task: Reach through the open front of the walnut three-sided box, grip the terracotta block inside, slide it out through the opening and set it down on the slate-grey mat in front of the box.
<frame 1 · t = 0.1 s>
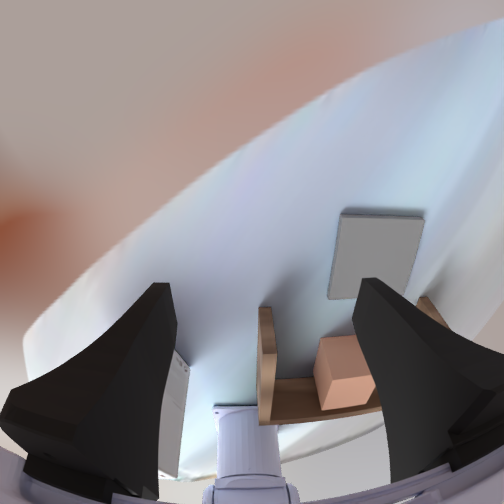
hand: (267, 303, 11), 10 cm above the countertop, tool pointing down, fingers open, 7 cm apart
skincare box: (155, 359, 27), on the countertop
open box: (340, 347, 27), on the countertop
block: (338, 352, 27), on the countertop
mat: (375, 257, 22), on the countertop
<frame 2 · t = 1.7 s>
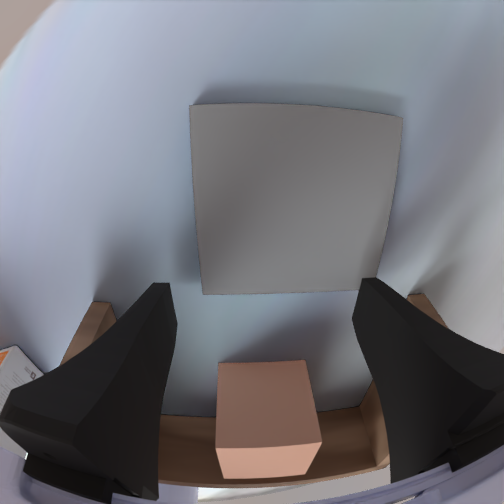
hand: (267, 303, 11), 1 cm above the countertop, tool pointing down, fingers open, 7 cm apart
skincare box: (17, 365, 16), on the countertop
open box: (261, 379, 15), on the countertop
block: (260, 387, 16), on the countertop
mat: (296, 203, 11), on the countertop
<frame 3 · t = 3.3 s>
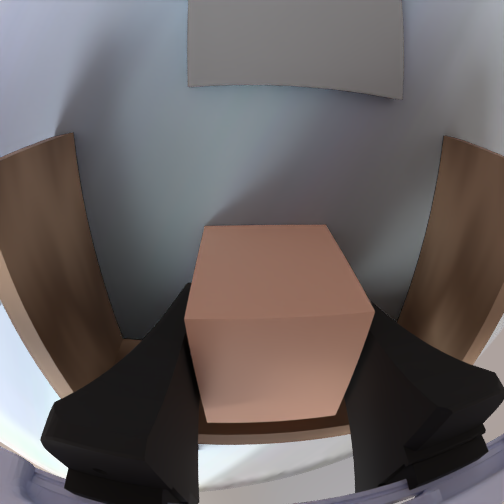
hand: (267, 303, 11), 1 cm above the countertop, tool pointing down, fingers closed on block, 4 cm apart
open box: (265, 260, 12), on the countertop
block: (264, 281, 12), on the countertop, touching gripper
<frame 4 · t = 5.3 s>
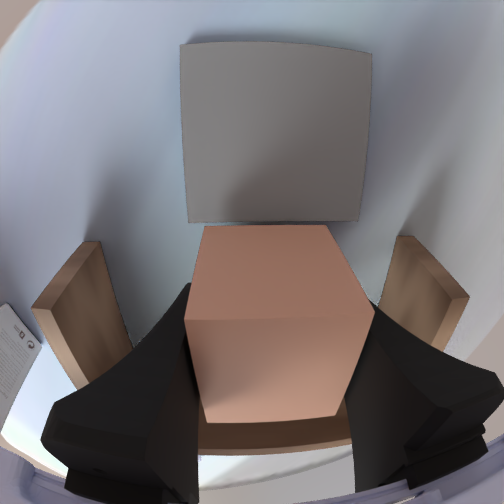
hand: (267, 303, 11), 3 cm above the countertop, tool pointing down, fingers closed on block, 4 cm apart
skincare box: (8, 328, 16), on the countertop
open box: (250, 330, 16), on the countertop
block: (264, 281, 12), point 2 cm above the countertop, touching gripper
mat: (276, 131, 11), on the countertop
when the fingers open (3 cm above the countertop, at t = 7.2 s): block stays where it is, resting on mat.
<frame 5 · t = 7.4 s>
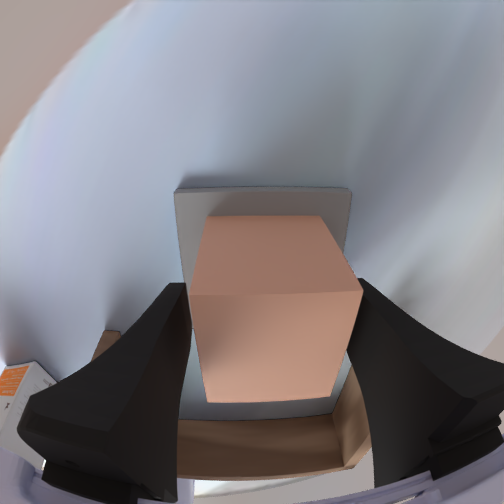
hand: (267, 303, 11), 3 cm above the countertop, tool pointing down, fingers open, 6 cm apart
skincare box: (35, 376, 19), on the countertop
open box: (243, 390, 18), on the countertop
block: (262, 269, 13), point 1 cm above the countertop, touching mat
mat: (262, 262, 13), on the countertop
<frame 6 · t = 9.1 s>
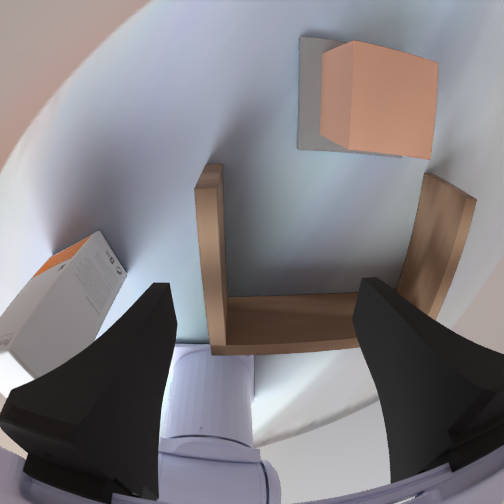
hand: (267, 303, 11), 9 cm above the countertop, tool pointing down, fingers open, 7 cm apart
skincare box: (87, 262, 21), on the countertop
open box: (326, 242, 21), on the countertop
block: (357, 97, 15), point 1 cm above the countertop, touching mat
mat: (354, 97, 16), on the countertop
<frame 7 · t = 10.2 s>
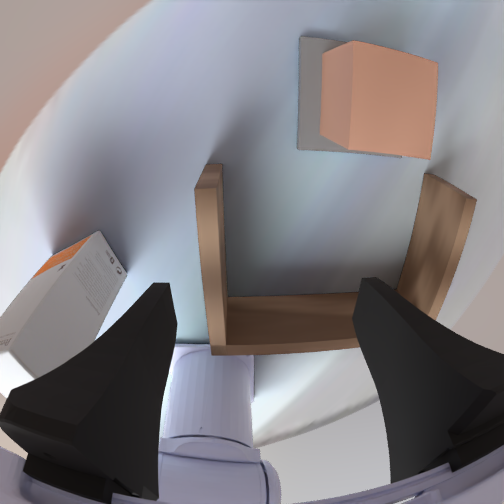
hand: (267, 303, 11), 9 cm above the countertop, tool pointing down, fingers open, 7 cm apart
skincare box: (87, 262, 21), on the countertop
open box: (326, 242, 21), on the countertop
block: (357, 97, 15), point 1 cm above the countertop, touching mat
mat: (354, 97, 16), on the countertop
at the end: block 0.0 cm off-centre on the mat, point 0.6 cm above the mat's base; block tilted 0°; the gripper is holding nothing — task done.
